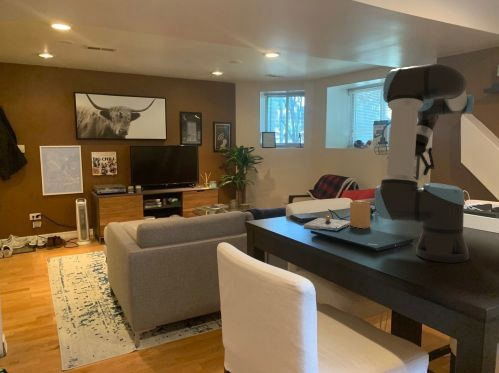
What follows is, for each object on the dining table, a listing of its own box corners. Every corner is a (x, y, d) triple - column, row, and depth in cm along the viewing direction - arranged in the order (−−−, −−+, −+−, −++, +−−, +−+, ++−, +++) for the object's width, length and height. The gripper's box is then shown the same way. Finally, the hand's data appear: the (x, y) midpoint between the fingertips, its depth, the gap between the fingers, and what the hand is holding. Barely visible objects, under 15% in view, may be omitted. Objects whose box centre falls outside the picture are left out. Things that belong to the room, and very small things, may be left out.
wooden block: (370, 227, 161) (370, 201, 159) (360, 229, 158) (360, 202, 156) (359, 224, 166) (359, 199, 165) (350, 226, 163) (350, 201, 162)
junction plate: (338, 231, 154) (338, 221, 154) (303, 227, 164) (303, 217, 163) (351, 224, 167) (351, 214, 167) (319, 220, 176) (319, 211, 176)
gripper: (450, 146, 162) (434, 187, 157) (394, 138, 178) (378, 175, 172) (449, 137, 157) (432, 179, 151) (391, 129, 172) (374, 167, 167)
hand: (403, 177), depth 162 cm, fingers open, 13 cm apart
